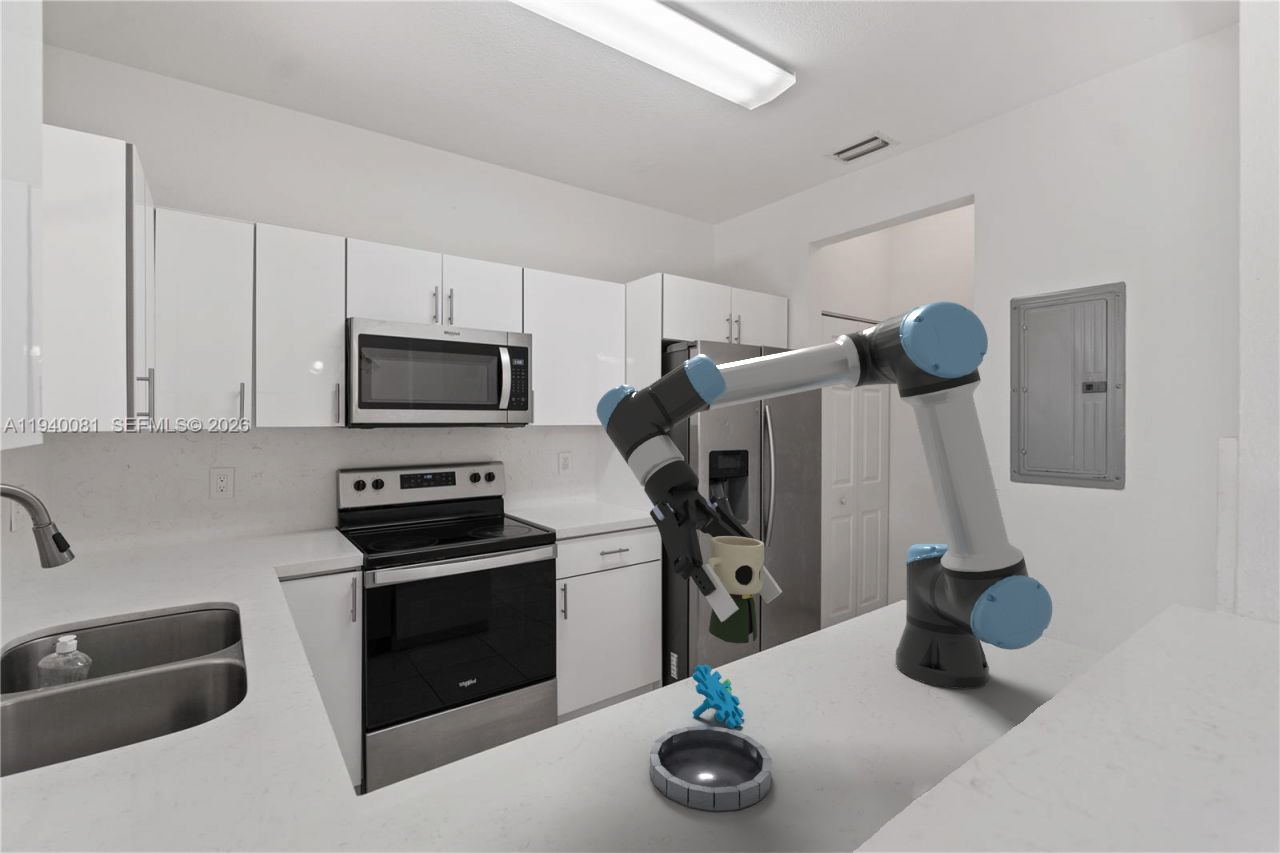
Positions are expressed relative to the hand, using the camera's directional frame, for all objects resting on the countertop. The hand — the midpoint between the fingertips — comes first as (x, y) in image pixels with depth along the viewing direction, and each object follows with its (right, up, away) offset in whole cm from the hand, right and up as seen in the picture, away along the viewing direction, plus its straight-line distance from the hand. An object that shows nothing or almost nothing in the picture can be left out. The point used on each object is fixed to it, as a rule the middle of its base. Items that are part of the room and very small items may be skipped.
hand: (753, 606), depth 76 cm
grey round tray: (-6, -21, -2) cm, 21 cm away
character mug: (-2, -5, +2) cm, 6 cm away
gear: (-3, -21, +13) cm, 25 cm away
